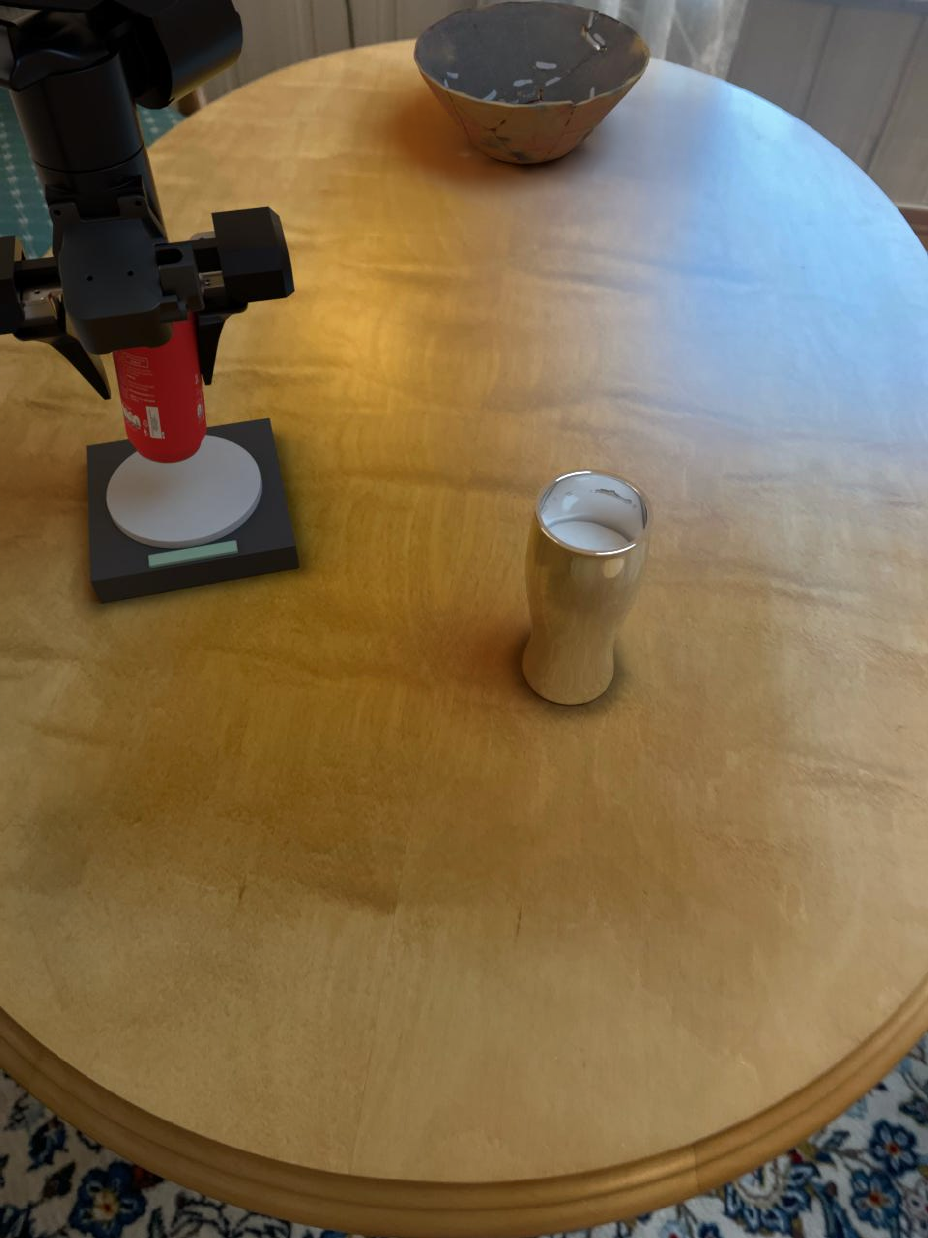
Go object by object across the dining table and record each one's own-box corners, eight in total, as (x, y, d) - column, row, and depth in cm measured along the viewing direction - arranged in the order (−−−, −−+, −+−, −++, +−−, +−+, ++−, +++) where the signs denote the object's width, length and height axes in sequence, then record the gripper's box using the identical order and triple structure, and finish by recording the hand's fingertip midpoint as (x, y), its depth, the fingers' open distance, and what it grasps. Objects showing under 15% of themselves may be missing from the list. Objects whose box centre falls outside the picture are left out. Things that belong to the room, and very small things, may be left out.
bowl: (526, 72, 120) (532, -19, 112) (681, 146, 109) (700, 50, 101) (368, 136, 110) (362, 40, 102) (522, 225, 99) (529, 125, 91)
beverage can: (121, 423, 66) (93, 264, 57) (197, 411, 68) (181, 255, 59) (137, 473, 64) (110, 315, 54) (216, 459, 65) (203, 304, 56)
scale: (99, 603, 68) (86, 573, 65) (94, 468, 76) (82, 437, 73) (299, 567, 70) (294, 537, 67) (273, 440, 78) (268, 408, 76)
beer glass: (567, 730, 62) (595, 578, 50) (493, 663, 65) (504, 504, 53) (641, 672, 65) (684, 514, 53) (567, 610, 68) (592, 448, 56)
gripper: (-124, 252, 44) (0, 499, 56) (290, 204, 47) (322, 449, 59) (-100, 135, 50) (7, 379, 63) (262, 100, 53) (296, 340, 66)
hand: (157, 388), depth 62 cm, fingers closed on beverage can, 6 cm apart
